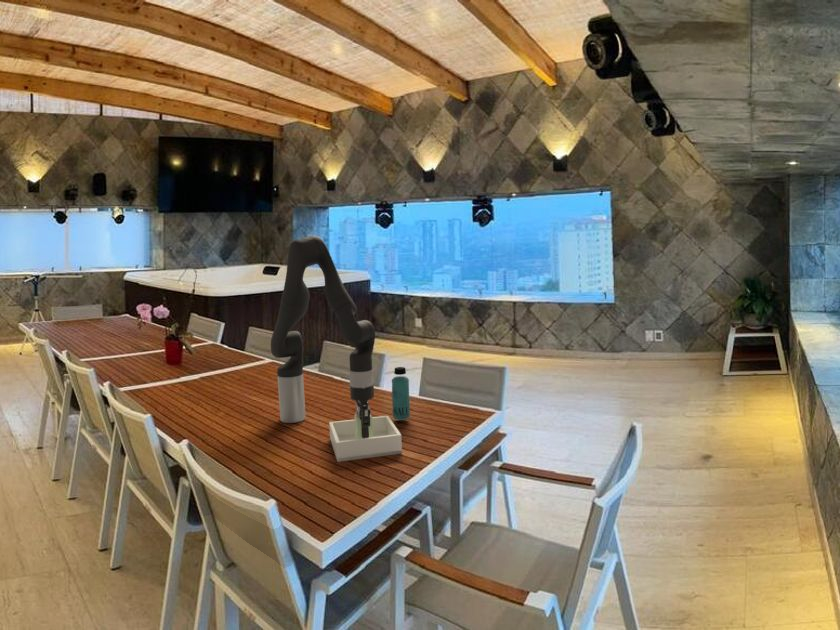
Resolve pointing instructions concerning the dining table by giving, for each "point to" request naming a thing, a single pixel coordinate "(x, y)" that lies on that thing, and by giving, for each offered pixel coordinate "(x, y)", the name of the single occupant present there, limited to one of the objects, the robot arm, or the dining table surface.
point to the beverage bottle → (400, 395)
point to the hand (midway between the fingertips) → (364, 434)
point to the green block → (358, 427)
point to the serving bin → (365, 440)
